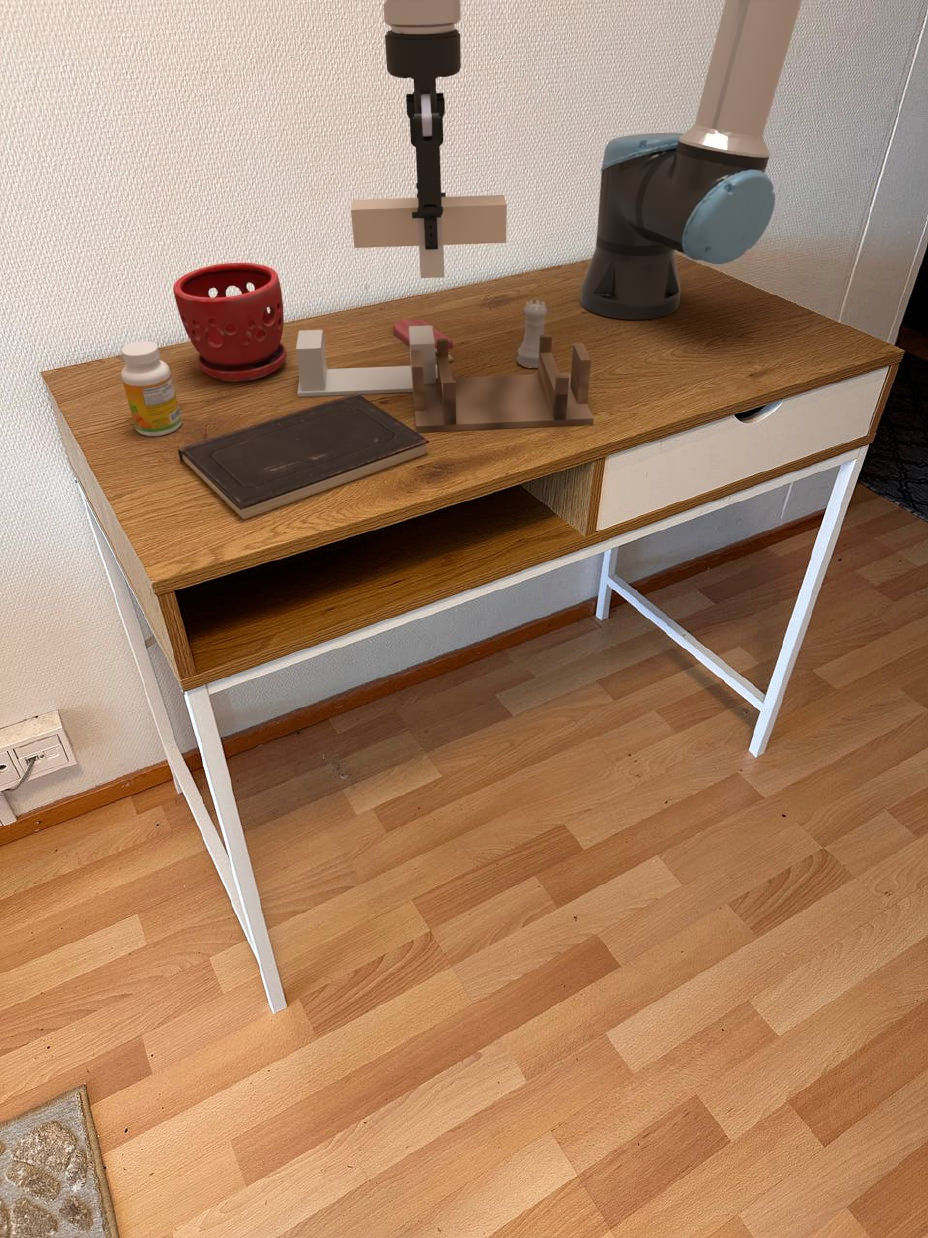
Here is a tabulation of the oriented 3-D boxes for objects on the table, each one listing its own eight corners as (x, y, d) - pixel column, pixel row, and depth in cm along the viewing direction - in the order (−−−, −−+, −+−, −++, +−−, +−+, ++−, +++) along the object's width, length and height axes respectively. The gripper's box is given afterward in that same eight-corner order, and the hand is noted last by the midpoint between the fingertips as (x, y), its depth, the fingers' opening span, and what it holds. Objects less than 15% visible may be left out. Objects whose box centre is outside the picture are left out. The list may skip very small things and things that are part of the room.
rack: (573, 378, 114) (577, 330, 110) (593, 424, 104) (597, 373, 100) (412, 385, 113) (409, 337, 109) (416, 432, 103) (414, 381, 99)
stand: (436, 368, 117) (435, 323, 113) (440, 390, 112) (439, 344, 108) (301, 373, 116) (295, 329, 112) (297, 396, 110) (291, 350, 107)
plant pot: (215, 346, 123) (198, 258, 116) (304, 352, 121) (293, 263, 114) (174, 385, 113) (153, 292, 106) (271, 393, 111) (256, 298, 104)
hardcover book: (429, 458, 99) (429, 439, 98) (243, 526, 89) (239, 507, 87) (356, 408, 109) (354, 390, 108) (181, 464, 99) (176, 446, 97)
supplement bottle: (130, 422, 105) (109, 344, 99) (175, 412, 107) (157, 335, 101) (141, 441, 102) (120, 361, 96) (187, 430, 104) (169, 351, 98)
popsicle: (432, 358, 117) (385, 321, 127) (433, 369, 118) (386, 332, 128) (467, 350, 119) (419, 315, 129) (467, 361, 120) (419, 325, 130)
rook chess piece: (524, 353, 120) (527, 295, 115) (554, 359, 119) (558, 300, 114) (510, 365, 117) (512, 306, 112) (541, 372, 116) (544, 311, 111)
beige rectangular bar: (503, 232, 101) (503, 194, 99) (506, 242, 98) (506, 204, 96) (355, 236, 101) (352, 199, 98) (354, 247, 98) (350, 209, 95)
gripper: (385, 18, 93) (399, 247, 108) (382, 39, 80) (399, 296, 95) (456, 17, 93) (460, 245, 108) (464, 37, 80) (468, 294, 95)
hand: (431, 269), depth 102 cm, fingers closed on beige rectangular bar, 4 cm apart
